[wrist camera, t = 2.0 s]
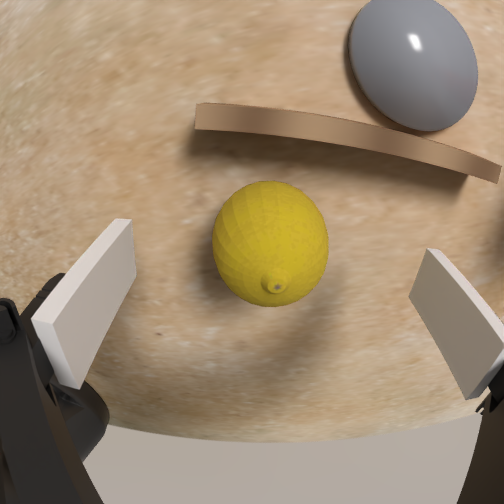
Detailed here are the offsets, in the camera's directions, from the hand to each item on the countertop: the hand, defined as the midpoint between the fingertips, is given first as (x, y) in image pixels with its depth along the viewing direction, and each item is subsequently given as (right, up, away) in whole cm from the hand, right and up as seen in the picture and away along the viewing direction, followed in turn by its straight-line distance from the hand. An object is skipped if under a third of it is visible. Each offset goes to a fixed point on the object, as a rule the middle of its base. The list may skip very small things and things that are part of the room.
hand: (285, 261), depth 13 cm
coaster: (+8, +12, +1) cm, 15 cm away
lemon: (-1, +3, +6) cm, 7 cm away
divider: (+5, +7, +3) cm, 9 cm away
